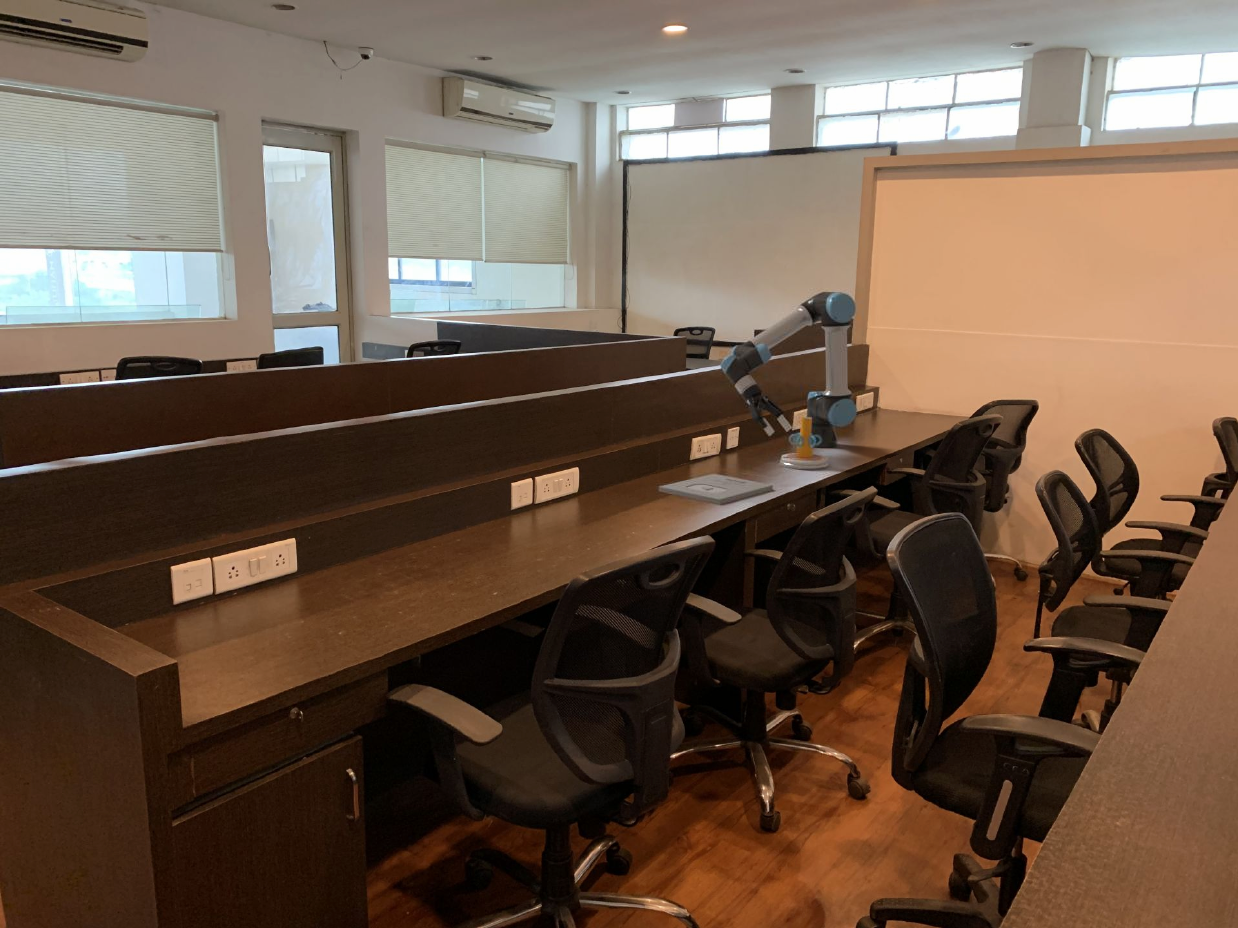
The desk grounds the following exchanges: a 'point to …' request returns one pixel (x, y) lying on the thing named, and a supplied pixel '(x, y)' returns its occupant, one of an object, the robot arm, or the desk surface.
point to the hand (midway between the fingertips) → (780, 431)
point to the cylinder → (805, 439)
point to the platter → (804, 460)
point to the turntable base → (803, 466)
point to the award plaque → (715, 488)
